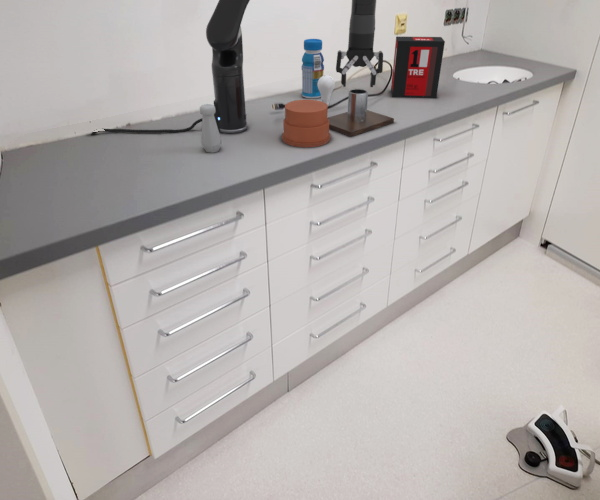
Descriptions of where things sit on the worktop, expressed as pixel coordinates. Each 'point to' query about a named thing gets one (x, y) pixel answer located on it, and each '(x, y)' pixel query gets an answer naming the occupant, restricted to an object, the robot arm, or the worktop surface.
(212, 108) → the salt shaker
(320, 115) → the terracotta flower pot
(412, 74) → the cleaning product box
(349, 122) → the board
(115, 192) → the worktop surface
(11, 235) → the worktop surface
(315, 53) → the beverage bottle
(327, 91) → the lightbulb
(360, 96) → the steel cup
